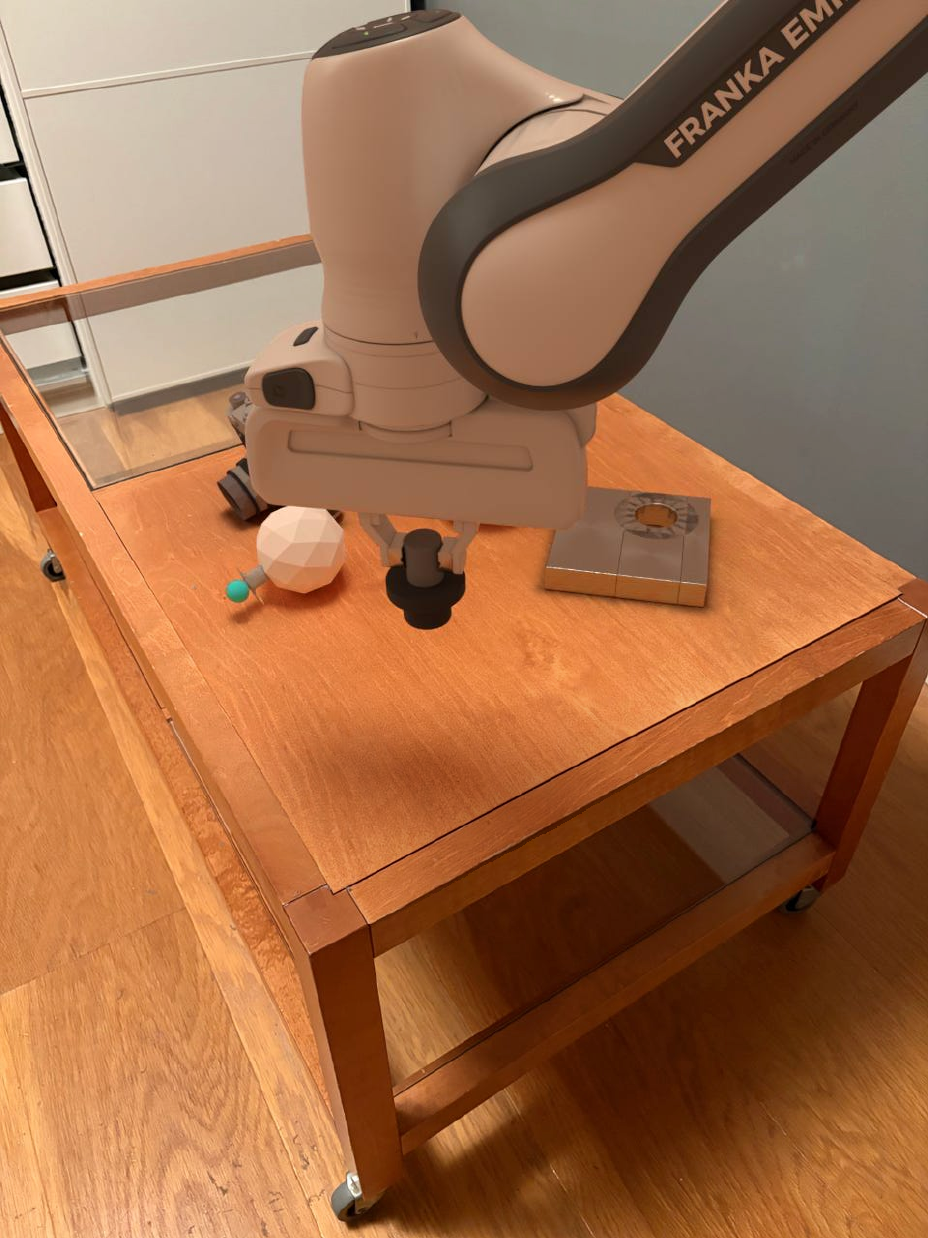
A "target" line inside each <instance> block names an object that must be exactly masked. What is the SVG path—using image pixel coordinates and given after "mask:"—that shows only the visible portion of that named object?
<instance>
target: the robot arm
mask: <svg viewBox="0 0 928 1238" xmlns="http://www.w3.org/2000/svg"><path fill="white" fill-rule="evenodd" d="M927 74H928V0H723V1H722V2H721V3H720V4H719V5H718V6H717V7H716V8H715V9H714V10H713V11H712V12H711V13H710V14H708V16H707V17H706V18H704V20H702V22H700V24H699V25H698V26H697V27H696V28H695V29H694V30H693V31H692V32H691V33H690V34H689V35H688V36H686V37H685V39H683V41H681V42H680V44H678V45H677V46H676V48H675V49H674V50H673V51H672V52H671V53H670V54H668V56H667V57H666V58H664V60H662V61H661V63H659V64H658V66H656V67H655V68H654V69H653V71H651V73H650V74H648V75H647V76H646V77H645V78H644V79H643V80H642V81H641V82H640V83H639V84H638V85H637V86H636V87H635V88H634V89H633V90H632V91H631V92H630V93H629V94H628V95H627V96H626V97H625V98H622V97H619V96H617V95H613V94H608V93H602V92H599V91H595V90H592V89H590V88H586V87H583V86H580V85H578V84H574V83H571V82H569V81H565V80H563V79H560V78H558V77H555V76H552V75H550V74H548V73H546V72H544V71H541V70H539V69H538V68H535V67H534V66H531V65H529V64H527V63H525V62H523V60H520V59H519V58H517V57H515V56H513V55H512V54H510V53H508V52H507V51H505V50H504V49H502V48H501V47H500V46H497V44H495V43H493V42H492V41H491V40H489V38H487V37H485V36H484V35H483V34H482V33H481V32H480V31H479V30H478V29H477V28H476V27H475V25H473V23H472V22H471V21H470V20H469V19H468V18H467V17H466V16H465V15H463V14H461V13H459V12H456V11H452V10H449V9H446V8H429V9H419V10H418V9H417V10H412V11H407V12H401V13H398V14H393V15H390V16H385V17H382V18H379V19H375V20H371V21H368V22H367V23H365V24H362V25H359V26H352V27H350V28H348V29H346V30H344V31H342V32H340V33H338V34H337V35H335V36H333V37H332V38H330V39H329V40H328V41H326V42H325V43H324V44H323V45H322V46H321V47H319V48H318V49H317V50H316V52H314V54H313V55H312V56H311V59H310V60H309V62H308V64H306V66H305V70H304V74H303V77H302V86H301V101H300V102H301V103H300V104H301V105H300V130H301V131H300V133H301V152H302V153H301V154H302V165H303V179H304V189H305V199H306V208H307V216H308V224H309V231H310V235H311V238H312V241H313V244H314V246H315V248H316V251H317V253H318V256H319V258H320V261H321V265H322V271H323V290H322V297H321V304H320V313H321V314H320V315H321V317H319V318H316V319H312V320H308V321H305V322H302V323H298V324H295V325H291V326H289V327H287V328H285V329H284V330H283V331H281V332H280V333H279V334H277V336H275V337H274V338H273V339H272V340H271V341H270V342H269V343H268V344H267V345H266V346H265V348H264V349H263V350H262V351H261V352H260V353H259V354H258V355H257V356H256V358H255V359H254V361H253V362H252V363H251V365H250V367H249V368H248V370H247V372H246V374H245V375H244V379H243V382H244V389H245V393H246V395H247V396H248V398H249V400H250V401H251V403H252V404H254V406H253V408H252V409H251V410H250V412H249V413H248V416H247V418H246V423H245V442H246V449H245V453H246V454H247V462H248V468H249V474H250V479H251V483H252V486H253V489H254V490H255V491H256V492H257V493H258V494H259V495H260V496H261V497H262V498H263V499H264V500H265V501H266V502H267V503H269V504H273V505H275V506H284V507H286V506H296V507H307V508H318V509H329V510H340V511H341V512H353V513H357V516H358V524H359V525H360V526H361V528H362V529H363V530H364V532H365V533H366V534H367V535H368V536H369V538H370V539H371V540H372V542H374V544H375V545H376V547H379V555H380V562H381V566H382V567H384V568H403V569H405V568H406V564H405V552H404V537H405V536H406V534H408V533H409V532H401V531H397V529H396V528H395V526H394V525H393V523H392V522H391V521H390V518H389V517H388V516H397V517H408V518H418V519H430V520H439V521H440V520H441V521H450V522H451V521H452V522H453V531H454V533H456V534H457V535H456V536H443V537H442V546H440V548H439V550H438V561H439V563H440V564H439V572H445V573H452V574H462V573H463V571H464V572H465V568H466V564H467V558H468V556H467V554H468V552H467V551H468V548H469V546H470V545H471V543H472V542H473V540H474V539H475V538H476V536H477V535H478V531H479V528H480V525H481V524H484V525H485V524H486V525H494V526H495V525H496V526H504V527H505V526H506V527H518V528H529V529H540V530H551V531H555V530H561V531H565V530H569V529H570V528H571V527H573V526H574V525H575V524H576V523H577V522H578V521H579V520H580V519H581V518H582V516H583V513H584V509H585V505H586V498H587V490H588V487H589V469H588V467H589V466H588V451H587V445H588V444H589V443H590V442H591V441H592V439H593V438H594V436H595V433H596V429H597V419H598V418H597V417H598V402H601V401H602V400H605V399H607V398H608V397H610V396H613V395H614V394H615V393H617V392H619V391H620V390H621V389H623V388H624V387H625V386H627V385H628V384H629V383H630V382H631V381H632V380H634V378H635V377H637V375H638V374H639V373H640V372H641V371H642V369H644V367H645V366H646V365H647V363H648V362H649V361H650V359H651V358H652V357H653V355H654V354H655V352H656V351H657V349H658V347H659V346H660V344H661V342H662V340H663V338H664V336H665V335H666V333H667V331H668V330H669V327H670V326H671V324H672V322H673V320H674V318H675V316H676V314H677V312H678V311H679V309H680V307H681V305H682V304H683V302H684V300H685V299H686V297H687V295H688V294H689V293H690V291H691V289H692V288H693V287H694V285H695V284H696V282H697V281H698V279H699V278H700V276H702V275H703V273H704V272H705V271H706V270H707V268H708V267H709V266H710V265H711V264H712V262H713V261H714V260H715V259H716V258H717V257H718V256H719V255H720V254H721V253H722V252H723V251H724V250H725V249H726V248H727V247H728V246H730V244H731V243H732V242H734V241H735V240H736V239H737V238H738V237H739V236H740V235H741V234H742V233H743V232H745V231H746V230H747V229H748V228H749V227H750V226H752V225H753V224H754V223H755V222H756V221H757V220H758V219H760V218H761V217H762V216H763V215H764V214H765V213H767V212H768V211H769V210H770V209H771V208H772V207H774V206H775V205H776V204H777V203H778V202H779V201H781V200H782V199H783V198H785V196H787V195H788V194H789V193H790V192H791V191H793V190H794V189H795V187H797V186H798V185H799V184H800V183H801V182H802V181H804V180H805V179H806V178H807V177H808V176H810V175H811V174H812V173H813V172H814V171H815V170H816V169H818V168H819V167H820V166H821V165H822V164H823V163H825V162H826V161H828V159H829V158H831V157H832V155H834V154H835V153H837V151H838V150H840V149H841V148H842V147H843V146H844V145H846V144H847V143H848V142H849V141H850V140H852V139H853V138H854V137H855V136H856V135H857V134H858V133H860V132H861V131H862V130H863V129H864V128H865V127H866V126H868V125H869V124H870V123H871V122H872V121H873V120H875V119H876V118H877V117H878V116H880V115H881V113H883V112H884V111H885V110H886V109H887V108H888V107H889V106H891V105H892V104H893V103H895V101H897V100H898V99H899V98H900V97H901V96H902V95H904V94H905V93H906V92H907V91H908V90H909V89H910V88H911V87H913V86H914V85H915V84H916V83H917V82H919V81H920V80H921V79H922V78H923V77H925V75H927Z"/></svg>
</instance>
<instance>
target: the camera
mask: <svg viewBox="0 0 928 1238" xmlns="http://www.w3.org/2000/svg"><path fill="white" fill-rule="evenodd" d="M228 402H229V405H228V407H227V408H226V410H225V412H226V413H225V414H226V416H227V419H228V421H229V423H230V425H231V426H232V428H233V430H234V432H235V433H236V434H237V436H238V439H239V440H240V441H241V444H242V446H243V447H244V449H245V450H246V442H245V423H246V418H247V416H248V413H249V412H250V410H251V409H252V408H253V406H254V404H252V403H251V401H250V400H249V398H248V396H247V393H246V391H242V390H241V391H236V392H234V393H233V394H231V395H230V396H229V398H228ZM216 485H217V487H218V489H219V491H220V492H221V494H222V496H223V497H224V499H225V500H226V501H227V503H228V504H229V506H230V507H231V508H232V510H233V511H234V513H236V514H237V515H238V517H239V518H240V519H242V520H243V521H246V520H248V519H250V518H251V517H254V516H255V515H256V516H259V515H260V514H261V513H262V512H263V511H266V510H269V509H271V508H273V507H276V505H273V504H269V503H267V502H266V501H265V500H264V499H263V498H262V497H261V496H260V495H259V494H258V493H257V492H256V491H255V490H254V489H253V486H252V483H251V479H250V474H249V468H248V462H247V454H246V452H245V454H244V457H242V458H241V459H240V460H238V461H237V462H236V463H235V467H233V468H231V469H228V470H227V471H226V475H225V476H223V477H222V478H221V479H219V480H218V481H216ZM326 510H327V511H328V512H329V514H330V515H331V516H332V517H333V518H334V520H336V518H337V517H338V516H340V515H341V513H342V511H340V510H329V509H326Z"/></svg>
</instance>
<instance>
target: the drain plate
mask: <svg viewBox="0 0 928 1238" xmlns="http://www.w3.org/2000/svg"><path fill="white" fill-rule="evenodd" d="M711 507H712V498H710V497H701V496H691V495H682V494H672V493H671V494H670V493H662V492H651V491H640V490H631V489H629V490H628V489H619V488H618V489H617V488H608V487H597V486H588V490H587V498H586V505H585V509H584V513H583V516H582V518H581V519H580V520H579V521H578V522H577V523H576V524H575V525H574V526H573V527H571V528H570V529H569V530H565V531H561V530H554V534H553V538H552V542H551V546H550V550H549V554H548V557H547V561H546V565H545V574H544V575H545V578H544V590H552V591H560V592H568V593H575V594H576V593H577V594H585V595H595V596H601V597H610V598H611V597H612V598H619V599H626V600H627V599H628V600H636V601H645V602H653V603H662V604H669V605H671V604H672V605H680V606H688V607H696V608H697V607H698V608H704V606H705V601H706V600H705V599H706V595H707V589H708V581H709V580H708V579H709V555H710V554H709V553H710V533H711V532H710V531H711ZM650 525H651V526H650ZM653 526H659V527H653Z"/></svg>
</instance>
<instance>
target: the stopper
mask: <svg viewBox="0 0 928 1238" xmlns="http://www.w3.org/2000/svg"><path fill="white" fill-rule="evenodd" d="M407 533H408V534H406V536H405V537H404V552H405V564H406V568H405V569H403V568H391V567H389V568H388V570H387V572H386V574H385V577H384V578H385V579H384V583H385V592H386V596H387V598H388V600H389V601H390V602H391V604H392V605H393V606H395V608H398V609H400V610H401V611H403V619H404V621H405V623H406V624H407V625H409V626H410V627H412V628H414V629H417V630H422V631H431V630H436V629H439V628H442V627H443V626H445V625H446V624H448V622H450V620H451V619H452V614H453V613H452V612H453V611H452V610H453V609H452V608H453V607H454V606H456V605H457V603H459V602H460V601H461V600H462V598H463V597H464V595H465V593H466V590H467V585H466V572H465V570H464V571H463V573H462V574H452V573H445V572H439V564H440V563H439V561H438V550H439V548H440V546H442V540H443V537H442V536H441V534H440V533H439V532H438V531H436V530H434V529H432V528H423V527H422V528H417V529H413V530H411V531H409V532H407Z"/></svg>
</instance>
